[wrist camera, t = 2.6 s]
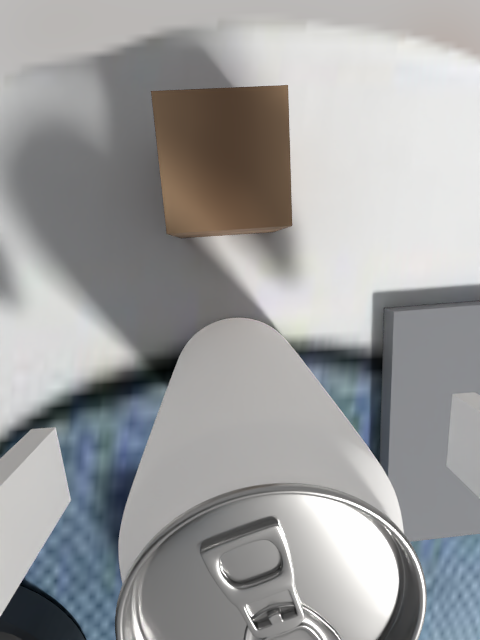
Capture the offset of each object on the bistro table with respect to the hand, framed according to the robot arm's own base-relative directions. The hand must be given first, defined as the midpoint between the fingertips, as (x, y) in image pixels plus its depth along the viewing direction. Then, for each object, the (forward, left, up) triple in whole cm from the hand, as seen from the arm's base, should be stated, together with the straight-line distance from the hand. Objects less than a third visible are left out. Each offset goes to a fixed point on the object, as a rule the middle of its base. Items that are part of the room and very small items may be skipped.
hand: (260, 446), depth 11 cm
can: (0, 0, -7) cm, 7 cm away
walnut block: (0, +9, -7) cm, 12 cm away
